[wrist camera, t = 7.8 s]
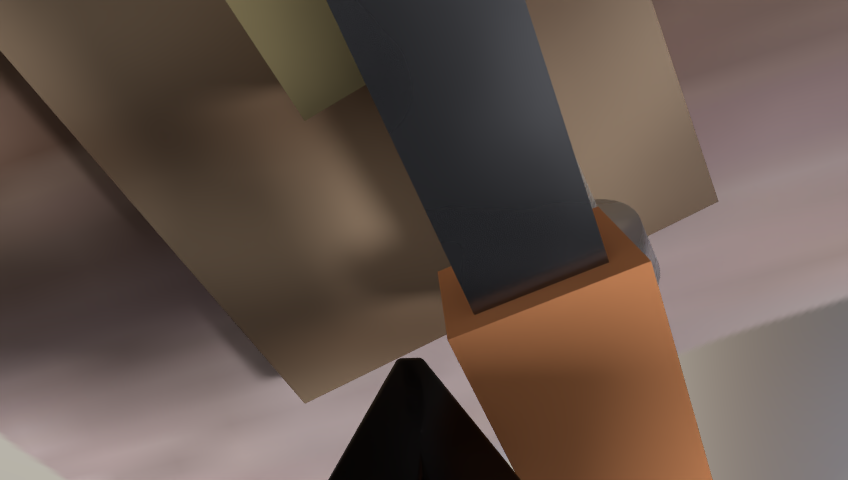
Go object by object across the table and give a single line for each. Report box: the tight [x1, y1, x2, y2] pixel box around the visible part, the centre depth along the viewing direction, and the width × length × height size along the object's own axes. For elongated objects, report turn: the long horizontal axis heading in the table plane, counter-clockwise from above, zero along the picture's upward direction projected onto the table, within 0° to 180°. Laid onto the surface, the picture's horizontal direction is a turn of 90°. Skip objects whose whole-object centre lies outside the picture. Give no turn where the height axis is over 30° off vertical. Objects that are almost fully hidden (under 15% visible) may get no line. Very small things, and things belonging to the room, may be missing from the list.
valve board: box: [0, 0, 718, 403], centre depth 10 cm, size 16×13×7 cm
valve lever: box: [326, 0, 713, 480], centre depth 7 cm, size 11×3×2 cm, turn 24°
